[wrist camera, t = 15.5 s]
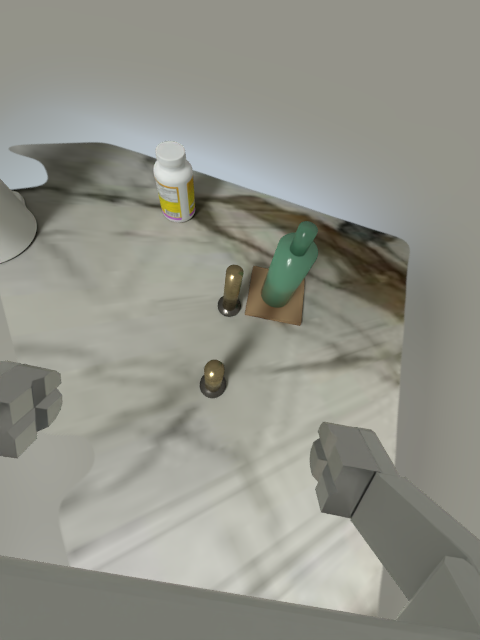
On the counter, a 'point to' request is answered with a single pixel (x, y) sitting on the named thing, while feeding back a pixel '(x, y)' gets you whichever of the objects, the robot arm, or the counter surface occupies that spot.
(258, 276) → the plate
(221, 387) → the post
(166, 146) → the supplement bottle
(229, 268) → the post
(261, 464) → the counter surface
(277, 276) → the bottle
